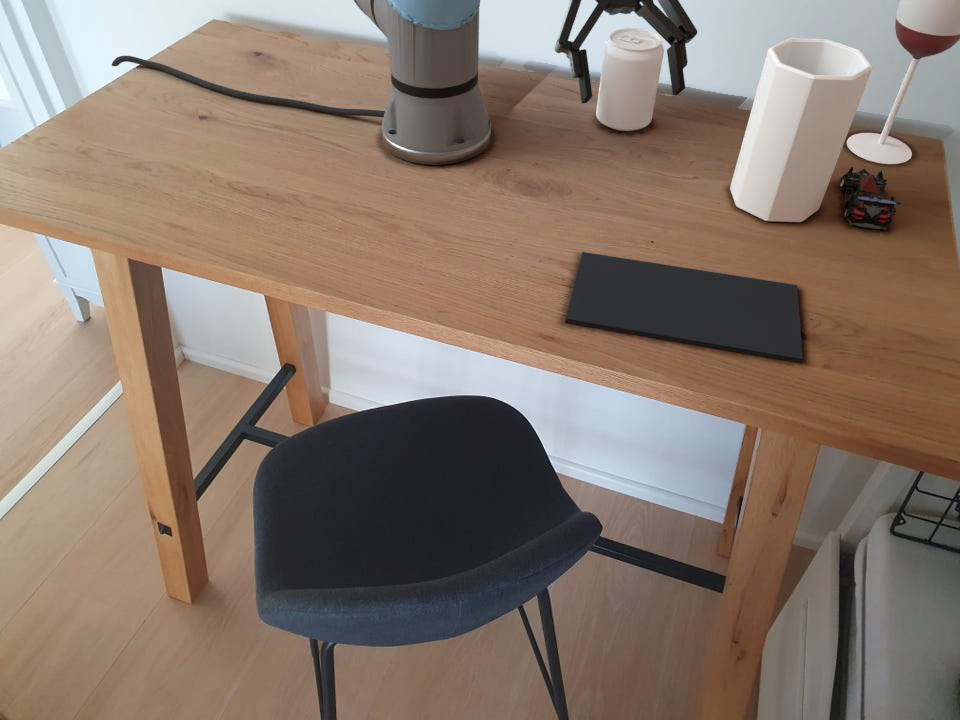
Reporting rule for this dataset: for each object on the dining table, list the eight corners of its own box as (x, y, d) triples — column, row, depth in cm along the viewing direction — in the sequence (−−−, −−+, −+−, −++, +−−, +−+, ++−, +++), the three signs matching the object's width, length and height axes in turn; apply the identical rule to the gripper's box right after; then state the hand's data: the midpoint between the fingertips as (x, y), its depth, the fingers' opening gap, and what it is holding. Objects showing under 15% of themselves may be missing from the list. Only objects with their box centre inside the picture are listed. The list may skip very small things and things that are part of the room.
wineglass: (842, 158, 105) (910, -19, 89) (846, 125, 112) (910, -45, 96) (913, 172, 103) (996, -7, 87) (914, 138, 110) (991, -35, 93)
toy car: (840, 226, 94) (852, 197, 91) (833, 175, 102) (844, 148, 99) (893, 233, 93) (906, 205, 90) (882, 182, 101) (894, 154, 98)
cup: (824, 188, 100) (877, 47, 87) (812, 233, 93) (868, 86, 80) (738, 168, 103) (777, 29, 90) (720, 211, 96) (759, 66, 83)
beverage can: (637, 139, 108) (651, 55, 100) (586, 124, 111) (595, 41, 103) (659, 116, 113) (674, 35, 105) (609, 102, 116) (620, 22, 108)
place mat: (565, 322, 81) (565, 318, 80) (581, 255, 89) (582, 251, 89) (801, 363, 77) (802, 358, 76) (795, 289, 85) (797, 285, 85)
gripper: (686, -46, 113) (704, 97, 113) (521, -36, 109) (541, 112, 109) (708, -75, 105) (728, 78, 106) (532, -65, 102) (554, 93, 102)
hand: (633, 96), depth 108 cm, fingers open, 13 cm apart
